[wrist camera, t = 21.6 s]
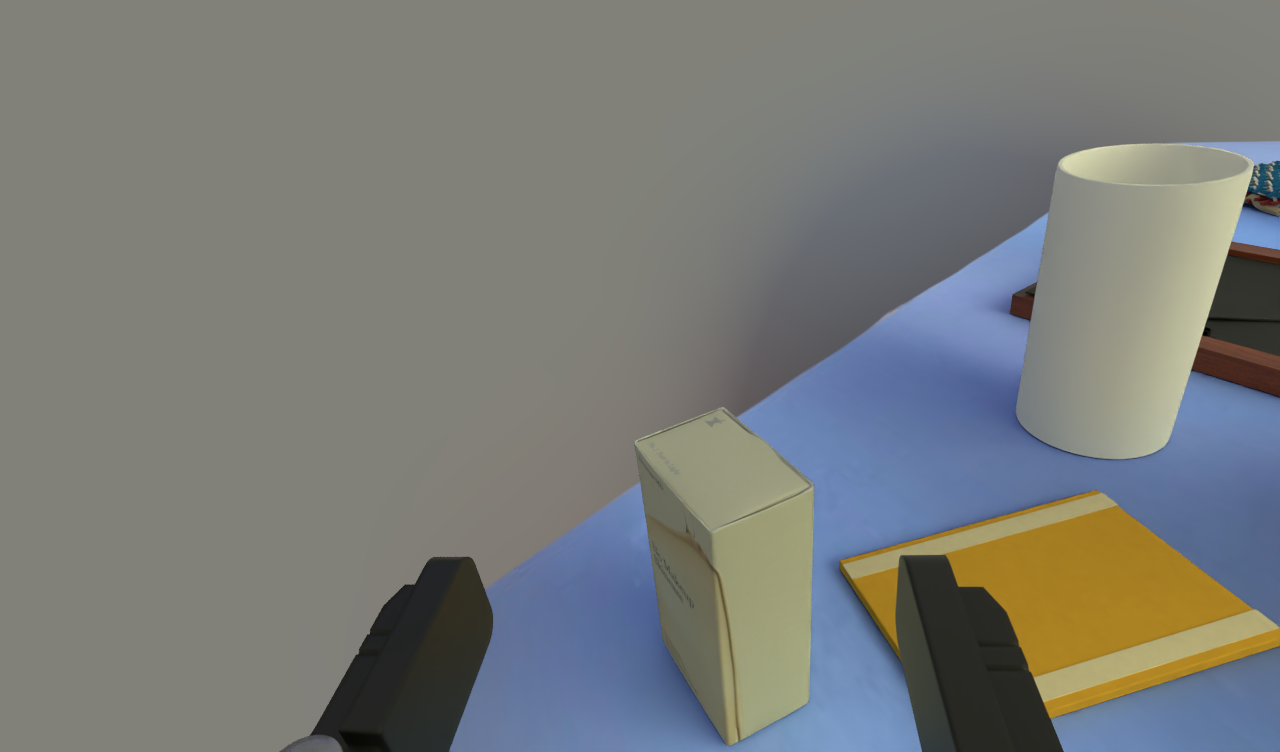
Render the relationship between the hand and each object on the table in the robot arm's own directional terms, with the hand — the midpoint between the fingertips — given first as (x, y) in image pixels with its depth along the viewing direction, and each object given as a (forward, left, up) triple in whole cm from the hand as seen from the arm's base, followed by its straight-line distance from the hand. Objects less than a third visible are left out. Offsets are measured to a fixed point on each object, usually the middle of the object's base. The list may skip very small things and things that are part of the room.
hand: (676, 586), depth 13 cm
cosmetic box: (-4, -10, -18) cm, 21 cm away
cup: (-31, -20, -18) cm, 41 cm away
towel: (-18, -9, -18) cm, 27 cm away
